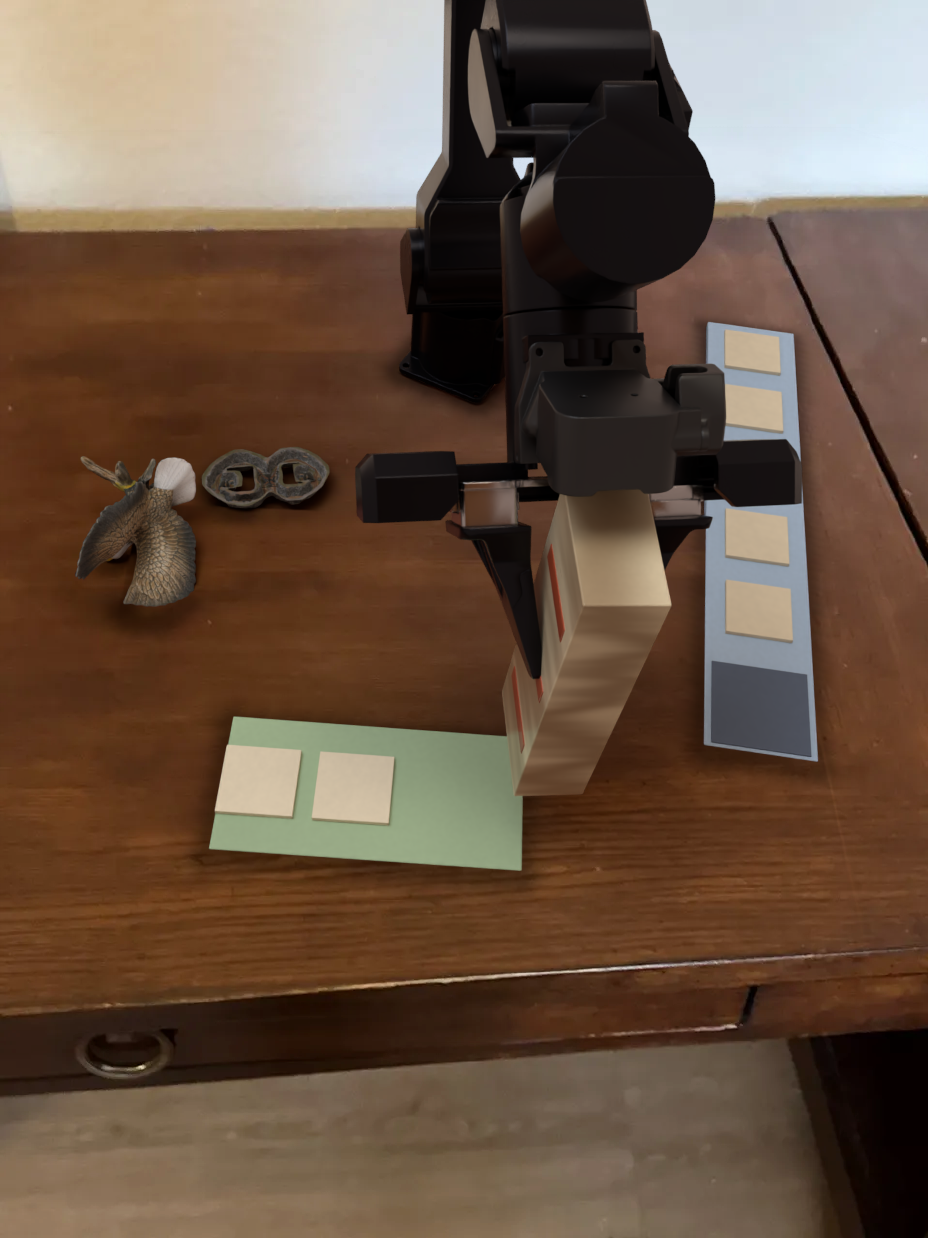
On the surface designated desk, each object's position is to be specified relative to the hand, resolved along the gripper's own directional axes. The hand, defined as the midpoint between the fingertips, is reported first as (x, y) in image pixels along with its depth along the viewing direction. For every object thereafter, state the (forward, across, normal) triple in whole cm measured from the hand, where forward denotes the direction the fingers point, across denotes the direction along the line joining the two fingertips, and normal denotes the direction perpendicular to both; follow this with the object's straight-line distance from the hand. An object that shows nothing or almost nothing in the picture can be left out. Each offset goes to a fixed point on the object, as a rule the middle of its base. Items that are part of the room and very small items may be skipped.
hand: (577, 675), depth 54 cm
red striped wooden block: (+5, 0, +7) cm, 9 cm away
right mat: (-5, +17, +24) cm, 30 cm away
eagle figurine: (-4, -21, +23) cm, 32 cm away
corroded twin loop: (-8, -14, +27) cm, 31 cm away
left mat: (+8, -9, +11) cm, 16 cm away
